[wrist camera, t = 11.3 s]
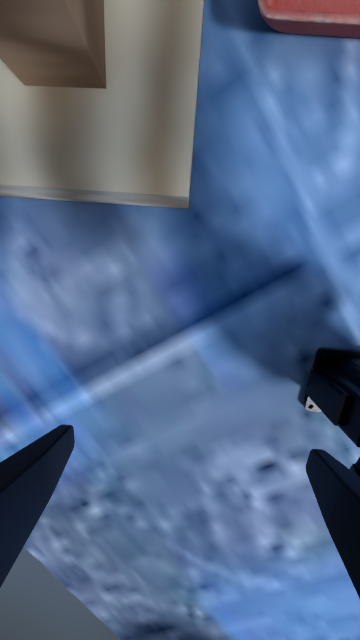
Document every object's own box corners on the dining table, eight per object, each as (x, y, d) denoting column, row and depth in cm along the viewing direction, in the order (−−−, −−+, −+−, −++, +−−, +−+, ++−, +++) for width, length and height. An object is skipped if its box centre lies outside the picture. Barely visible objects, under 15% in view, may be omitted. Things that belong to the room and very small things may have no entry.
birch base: (210, -86, 12) (217, -192, 9) (188, 208, 17) (188, 196, 14) (-47, -93, 13) (-116, -198, 10) (-5, 195, 17) (-45, 181, 14)
